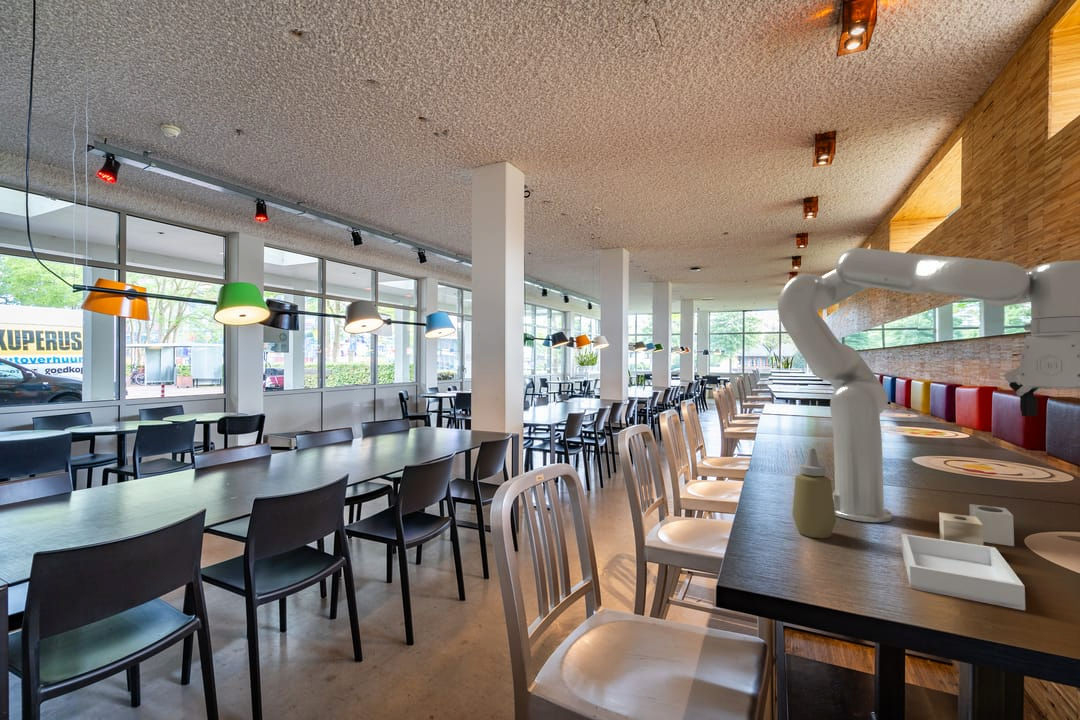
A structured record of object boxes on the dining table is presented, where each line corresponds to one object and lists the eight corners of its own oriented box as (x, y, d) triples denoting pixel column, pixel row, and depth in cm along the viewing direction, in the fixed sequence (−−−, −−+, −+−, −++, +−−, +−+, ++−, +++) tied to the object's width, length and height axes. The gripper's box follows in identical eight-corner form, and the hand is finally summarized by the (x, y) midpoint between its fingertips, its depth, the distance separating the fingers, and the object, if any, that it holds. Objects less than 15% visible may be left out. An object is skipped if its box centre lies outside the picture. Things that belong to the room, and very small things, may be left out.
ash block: (944, 551, 89) (943, 519, 89) (940, 542, 94) (939, 511, 94) (983, 557, 86) (982, 524, 86) (977, 548, 91) (976, 516, 91)
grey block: (975, 541, 94) (974, 510, 94) (970, 532, 99) (969, 503, 99) (1014, 546, 91) (1013, 515, 91) (1006, 537, 95) (1005, 507, 96)
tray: (910, 588, 75) (909, 566, 75) (901, 552, 89) (901, 533, 89) (1025, 610, 67) (1024, 586, 68) (995, 567, 82) (995, 547, 82)
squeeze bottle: (821, 544, 94) (819, 453, 94) (784, 531, 101) (782, 447, 101) (845, 536, 97) (842, 449, 98) (807, 525, 104) (805, 444, 105)
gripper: (991, 331, 96) (992, 414, 96) (1109, 324, 79) (1111, 425, 79) (1019, 331, 97) (1020, 413, 97) (1141, 324, 81) (1142, 424, 80)
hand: (1061, 419), depth 88 cm, fingers open, 9 cm apart
